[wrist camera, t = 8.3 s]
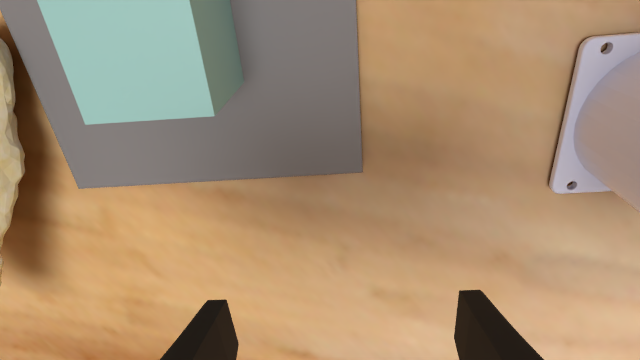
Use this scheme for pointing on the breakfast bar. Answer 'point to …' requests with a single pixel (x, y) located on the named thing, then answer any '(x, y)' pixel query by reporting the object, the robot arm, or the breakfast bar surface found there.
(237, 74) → the block
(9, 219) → the conch shell
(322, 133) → the mat
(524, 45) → the breakfast bar surface
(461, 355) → the robot arm
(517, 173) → the breakfast bar surface
